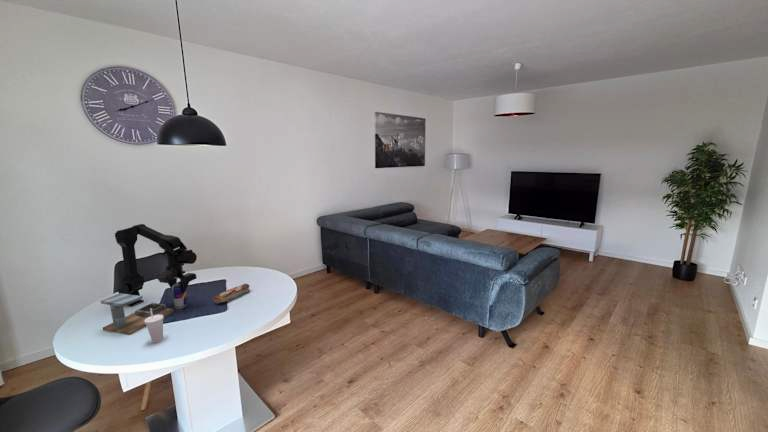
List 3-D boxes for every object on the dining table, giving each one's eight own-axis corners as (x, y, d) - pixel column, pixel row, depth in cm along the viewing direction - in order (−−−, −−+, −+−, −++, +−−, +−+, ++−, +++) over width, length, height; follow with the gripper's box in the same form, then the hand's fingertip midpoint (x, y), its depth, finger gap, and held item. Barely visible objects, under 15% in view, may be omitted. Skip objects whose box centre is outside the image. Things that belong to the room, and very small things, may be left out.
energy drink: (181, 309, 156) (178, 286, 154) (172, 308, 157) (168, 285, 155) (190, 304, 162) (186, 282, 159) (181, 303, 163) (177, 281, 160)
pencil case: (209, 301, 165) (208, 292, 164) (246, 288, 180) (245, 280, 179) (218, 307, 158) (217, 298, 157) (255, 294, 173) (255, 285, 172)
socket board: (102, 330, 139) (96, 301, 136) (149, 307, 159) (144, 282, 156) (130, 334, 135) (124, 305, 132) (174, 311, 155) (170, 285, 152)
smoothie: (154, 335, 134) (149, 305, 131) (170, 334, 134) (165, 304, 131) (144, 344, 127) (138, 312, 125) (161, 343, 128) (155, 311, 125)
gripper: (144, 267, 150) (149, 297, 153) (175, 270, 145) (180, 301, 148) (165, 259, 160) (170, 288, 163) (195, 262, 156) (199, 291, 159)
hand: (179, 292), depth 158 cm, fingers closed on energy drink, 5 cm apart
